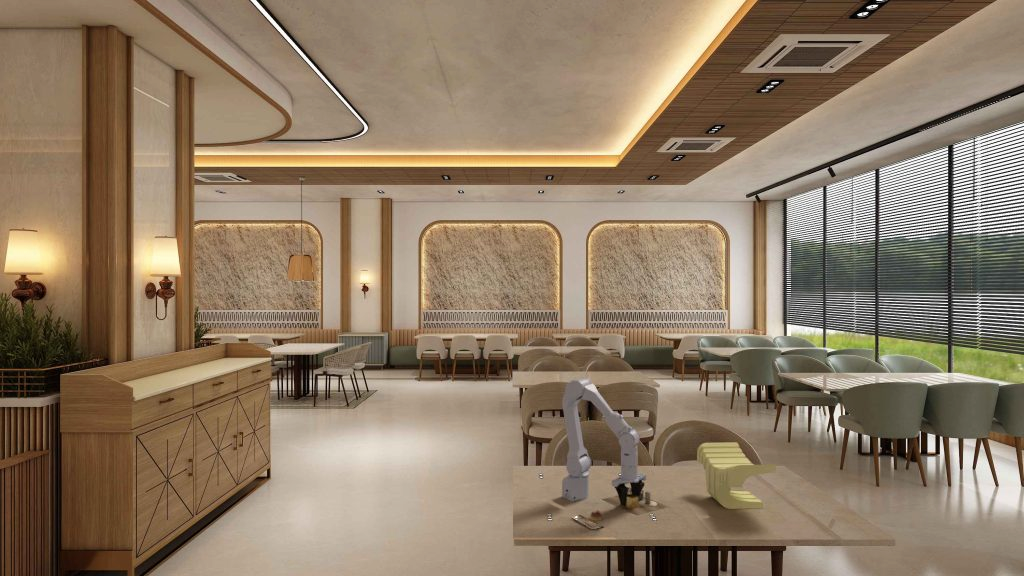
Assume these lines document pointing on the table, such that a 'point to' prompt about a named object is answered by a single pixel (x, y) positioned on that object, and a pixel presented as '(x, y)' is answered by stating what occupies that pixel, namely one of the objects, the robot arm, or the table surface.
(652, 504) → the gear board
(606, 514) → the table surface
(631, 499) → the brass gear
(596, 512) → the dessert
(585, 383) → the robot arm
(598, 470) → the table surface
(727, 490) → the slatted curved stool
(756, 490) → the table surface
